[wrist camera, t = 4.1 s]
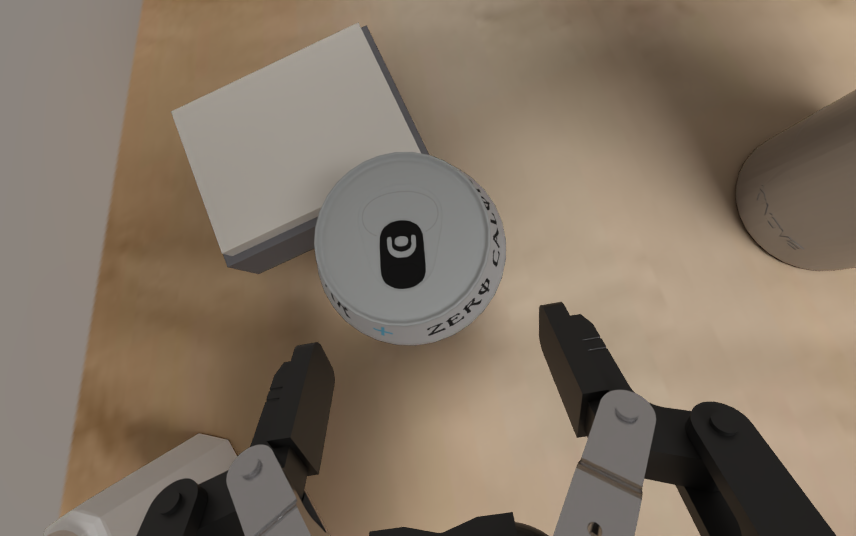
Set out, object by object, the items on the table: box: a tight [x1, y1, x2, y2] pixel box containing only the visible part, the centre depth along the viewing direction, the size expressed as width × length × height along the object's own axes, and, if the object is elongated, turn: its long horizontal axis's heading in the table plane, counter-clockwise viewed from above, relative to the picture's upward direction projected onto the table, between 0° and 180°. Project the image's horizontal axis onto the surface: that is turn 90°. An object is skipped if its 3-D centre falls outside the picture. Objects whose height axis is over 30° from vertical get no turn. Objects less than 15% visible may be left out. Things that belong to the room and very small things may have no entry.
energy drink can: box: [314, 152, 506, 345], centre depth 17 cm, size 6×6×15 cm
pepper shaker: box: [43, 433, 237, 536], centre depth 19 cm, size 5×5×11 cm
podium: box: [171, 23, 429, 274], centre depth 24 cm, size 14×11×4 cm
